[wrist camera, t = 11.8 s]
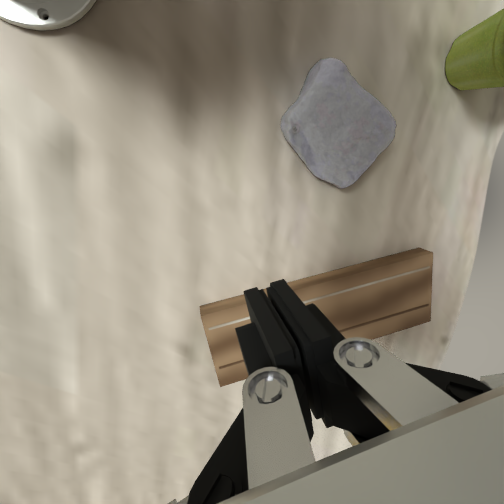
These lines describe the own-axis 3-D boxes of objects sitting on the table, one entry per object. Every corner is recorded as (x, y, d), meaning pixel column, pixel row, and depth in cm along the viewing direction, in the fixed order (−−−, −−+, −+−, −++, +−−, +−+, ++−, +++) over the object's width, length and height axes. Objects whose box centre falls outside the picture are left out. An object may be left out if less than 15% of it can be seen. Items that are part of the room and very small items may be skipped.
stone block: (333, 191, 38) (389, 125, 35) (346, 201, 34) (412, 127, 31) (263, 134, 34) (318, 54, 31) (267, 137, 30) (333, 45, 27)
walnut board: (199, 306, 36) (200, 316, 34) (419, 247, 41) (433, 252, 39) (218, 373, 40) (220, 387, 38) (417, 312, 45) (430, 321, 42)
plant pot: (503, 84, 37) (593, 61, 28) (441, 119, 36) (515, 107, 28) (491, 1, 33) (590, -51, 25) (423, 39, 33) (501, -1, 25)
